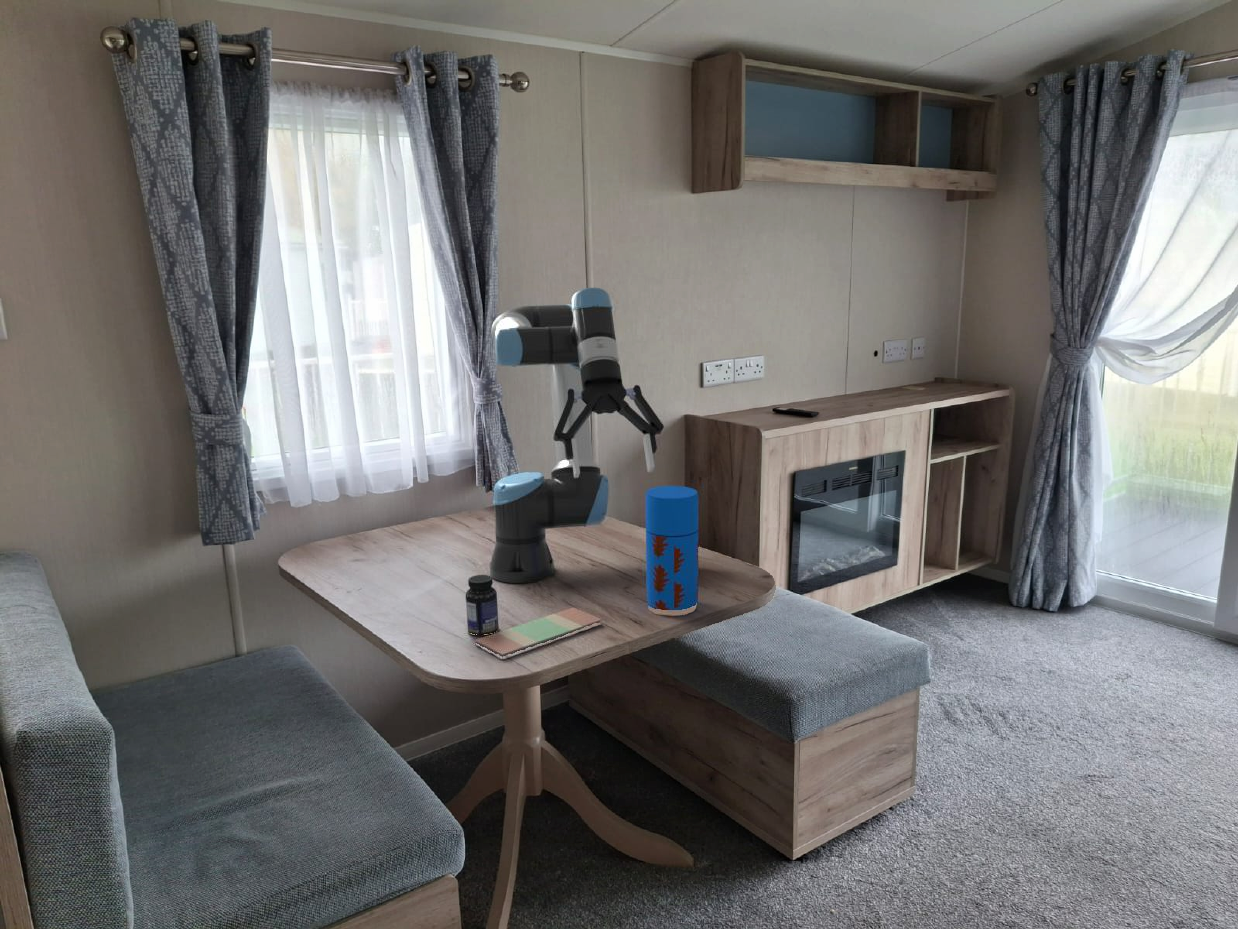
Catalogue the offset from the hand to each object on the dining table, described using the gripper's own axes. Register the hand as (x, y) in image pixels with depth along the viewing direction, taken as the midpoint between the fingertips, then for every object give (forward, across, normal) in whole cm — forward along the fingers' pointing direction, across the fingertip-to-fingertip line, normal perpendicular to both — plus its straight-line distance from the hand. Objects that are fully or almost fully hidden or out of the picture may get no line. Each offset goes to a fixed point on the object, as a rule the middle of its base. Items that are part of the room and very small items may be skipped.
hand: (614, 472), depth 162 cm
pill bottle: (+21, -25, +30) cm, 44 cm away
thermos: (+20, +15, +33) cm, 42 cm away
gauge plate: (+24, -14, +26) cm, 38 cm away
